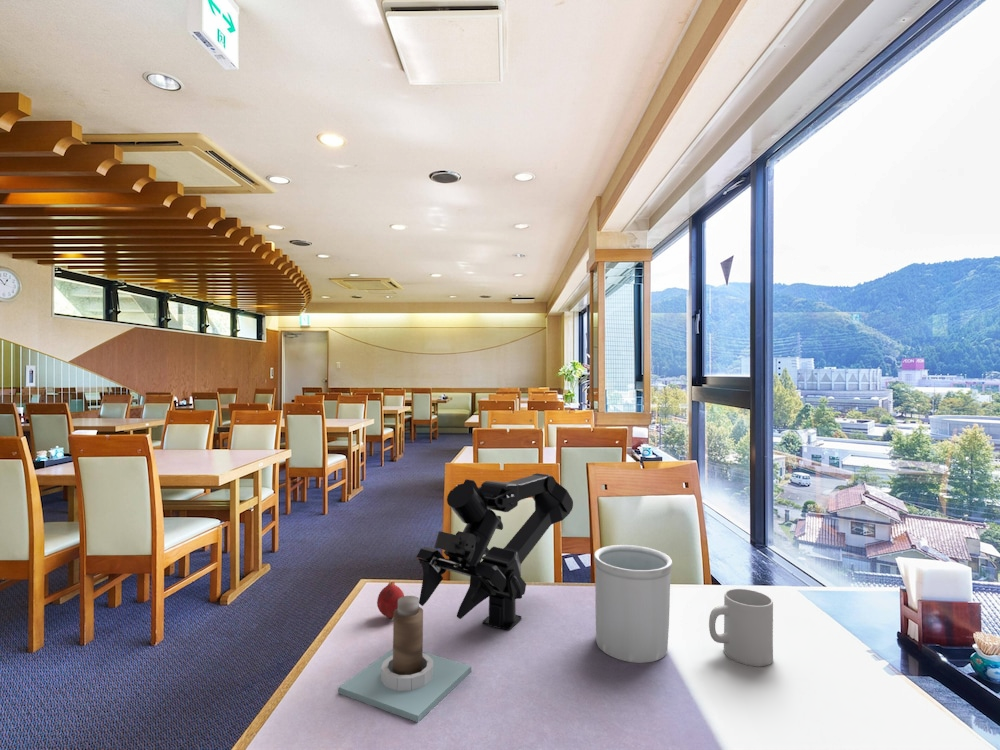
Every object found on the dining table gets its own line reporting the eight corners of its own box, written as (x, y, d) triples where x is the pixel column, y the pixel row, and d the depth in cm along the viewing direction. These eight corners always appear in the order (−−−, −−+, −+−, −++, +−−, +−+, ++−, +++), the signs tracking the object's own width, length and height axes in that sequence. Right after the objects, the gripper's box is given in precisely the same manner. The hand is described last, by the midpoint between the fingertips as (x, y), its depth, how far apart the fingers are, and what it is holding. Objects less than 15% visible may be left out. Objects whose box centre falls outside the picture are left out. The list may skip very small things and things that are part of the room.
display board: (398, 649, 103) (399, 634, 103) (471, 671, 95) (471, 654, 95) (338, 693, 89) (338, 674, 89) (417, 722, 81) (418, 702, 81)
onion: (398, 625, 113) (398, 587, 113) (372, 622, 114) (372, 585, 114) (408, 613, 118) (408, 577, 119) (383, 611, 120) (384, 575, 120)
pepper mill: (418, 665, 95) (419, 592, 95) (425, 680, 91) (426, 603, 91) (390, 671, 93) (391, 596, 94) (395, 686, 89) (396, 607, 89)
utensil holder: (682, 666, 98) (683, 570, 98) (601, 665, 98) (602, 569, 98) (658, 628, 113) (658, 544, 113) (587, 627, 113) (588, 544, 113)
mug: (755, 642, 107) (755, 587, 107) (783, 665, 99) (783, 605, 99) (698, 646, 106) (698, 590, 106) (721, 669, 97) (722, 608, 97)
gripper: (422, 506, 108) (380, 578, 99) (497, 521, 98) (458, 603, 89) (447, 536, 115) (410, 606, 106) (521, 553, 104) (486, 632, 95)
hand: (439, 611), depth 99 cm, fingers open, 9 cm apart
